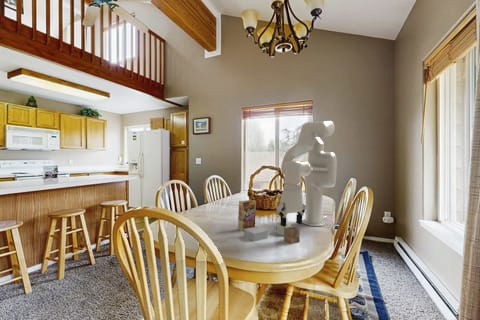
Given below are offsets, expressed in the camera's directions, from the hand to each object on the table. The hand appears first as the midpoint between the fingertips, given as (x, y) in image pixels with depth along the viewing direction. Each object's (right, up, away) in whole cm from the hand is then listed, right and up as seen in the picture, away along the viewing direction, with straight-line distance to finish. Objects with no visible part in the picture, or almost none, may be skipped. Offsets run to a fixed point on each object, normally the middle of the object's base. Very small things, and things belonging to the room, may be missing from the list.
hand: (291, 224), depth 107 cm
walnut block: (0, -8, +1) cm, 8 cm away
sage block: (-1, -8, +11) cm, 14 cm away
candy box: (-20, -8, +18) cm, 28 cm away
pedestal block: (-16, -8, +5) cm, 19 cm away
